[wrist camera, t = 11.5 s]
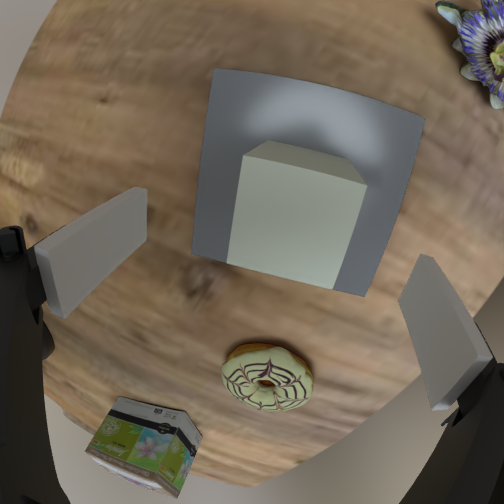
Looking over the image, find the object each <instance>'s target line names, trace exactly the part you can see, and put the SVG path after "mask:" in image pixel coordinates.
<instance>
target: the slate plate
mask: <svg viewBox="0 0 504 504" xmlns="http://www.w3.org/2000/svg"><path fill="white" fill-rule="evenodd" d="M424 122H425V118H423V117H421V116H418V115H416V114H413V113H411V112H408V111H406V110H403V109H400V108H398V107H395V106H392V105H389V104H386V103H384V102H381V101H378V100H374V99H371V98H368V97H365V96H362V95H358V94H355V93H351V92H348V91H344V90H341V89H337V88H333V87H329V86H325V85H321V84H316V83H312V82H307V81H302V80H298V79H292V78H287V77H281V76H276V75H269V74H263V73H256V72H248V71H239V70H230V69H218V68H214V72H213V78H212V84H211V90H210V96H209V102H208V109H207V116H206V122H205V130H204V137H203V144H202V152H201V160H200V169H199V177H198V186H197V196H196V206H195V217H194V228H193V240H192V253H191V254H194V255H198V256H202V257H206V258H209V259H213V260H217V261H221V262H225V263H227V256H228V249H229V242H230V235H231V229H232V222H233V216H234V209H235V203H236V196H237V190H238V184H239V177H240V171H241V165H242V159H243V155H244V154H246V153H248V152H249V151H251V150H253V149H254V148H256V147H258V146H259V145H261V144H263V143H264V142H266V141H268V140H270V141H275V142H280V143H284V144H289V145H293V146H298V147H302V148H306V149H310V150H315V151H319V152H323V153H326V154H330V155H334V156H338V157H341V158H345V159H348V160H349V161H350V162H351V164H352V165H353V166H354V168H355V169H356V170H357V172H358V173H359V175H360V176H361V177H362V179H363V180H364V182H365V183H366V184H367V188H366V192H365V195H364V199H363V202H362V205H361V208H360V212H359V215H358V218H357V221H356V224H355V227H354V230H353V233H352V236H351V239H350V242H349V245H348V248H347V251H346V254H345V256H344V259H343V262H342V265H341V268H340V270H339V273H338V276H337V278H336V281H335V284H334V286H333V290H337V291H341V292H345V293H349V294H354V295H358V296H362V297H365V295H366V293H367V291H368V288H369V286H370V284H371V282H372V279H373V277H374V275H375V272H376V270H377V268H378V265H379V263H380V260H381V258H382V255H383V253H384V250H385V248H386V245H387V243H388V240H389V237H390V235H391V232H392V229H393V227H394V224H395V221H396V218H397V215H398V213H399V210H400V207H401V204H402V201H403V198H404V195H405V192H406V188H407V185H408V182H409V179H410V175H411V172H412V169H413V165H414V162H415V158H416V154H417V151H418V147H419V143H420V139H421V135H422V131H423V127H424Z"/></svg>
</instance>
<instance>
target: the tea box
mask: <svg viewBox="0 0 504 504" xmlns="http://www.w3.org/2000/svg"><path fill="white" fill-rule="evenodd" d="M201 440H202V436H201V435H200V433H199V432H198V430H197V428H196V427H195V425H194V424H193V422H192V421H191V419H190V418H189V416H188V415H187V413H186V412H185V411H176V410H171V409H166V408H162V407H158V406H153V405H149V404H145V403H142V402H138V401H134V400H131V399H128V398H125V397H119V398H118V399H117V401H116V402H115V404H114V405H113V407H112V409H111V410H110V411H109V413H108V415H107V416H106V418H105V419H104V421H103V423H102V424H101V426H100V427H99V429H98V430H97V432H96V434H95V436H94V437H93V439H92V440H91V442H90V443H89V445H88V447H87V449H86V450H85V452H86V453H87V454H88V455H89V456H90V457H91V458H93V459H94V460H95V461H96V462H98V463H99V464H100V465H101V466H103V467H104V468H105V469H106V470H107V471H109V472H110V473H112V474H113V475H116V476H118V477H120V478H123V479H125V480H127V481H129V482H132V483H134V484H136V485H139V486H141V487H144V488H147V489H149V490H152V491H155V492H158V493H161V494H164V495H166V496H170V497H173V498H178V496H179V493H180V491H181V489H182V486H183V484H184V482H185V479H186V477H187V474H188V472H189V470H190V467H191V465H192V462H193V460H194V457H195V455H196V452H197V450H198V448H199V445H200V442H201Z"/></svg>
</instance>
